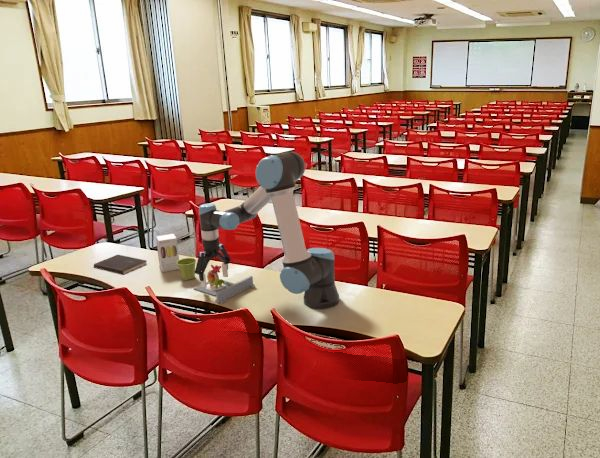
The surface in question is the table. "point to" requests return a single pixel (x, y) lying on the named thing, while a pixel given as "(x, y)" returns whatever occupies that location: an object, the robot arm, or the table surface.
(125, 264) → the hardcover book
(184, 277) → the plant pot
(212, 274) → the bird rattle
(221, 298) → the long grey bar
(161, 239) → the supplement box
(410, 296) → the table surface
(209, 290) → the mat
